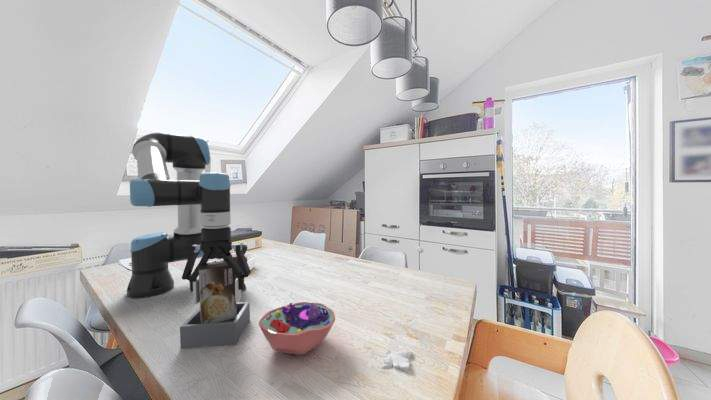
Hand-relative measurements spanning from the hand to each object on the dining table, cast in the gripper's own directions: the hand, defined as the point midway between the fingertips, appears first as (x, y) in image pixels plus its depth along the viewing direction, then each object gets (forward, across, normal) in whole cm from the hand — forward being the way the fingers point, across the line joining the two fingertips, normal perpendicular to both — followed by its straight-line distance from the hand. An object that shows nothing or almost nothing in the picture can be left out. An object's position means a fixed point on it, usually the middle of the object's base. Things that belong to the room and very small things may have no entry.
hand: (218, 301), depth 73 cm
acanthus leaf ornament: (+11, +49, -18) cm, 53 cm away
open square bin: (+10, 0, 0) cm, 10 cm away
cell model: (+10, +24, -9) cm, 27 cm away
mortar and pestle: (+10, -4, +31) cm, 33 cm away
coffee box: (+5, 0, 0) cm, 5 cm away
